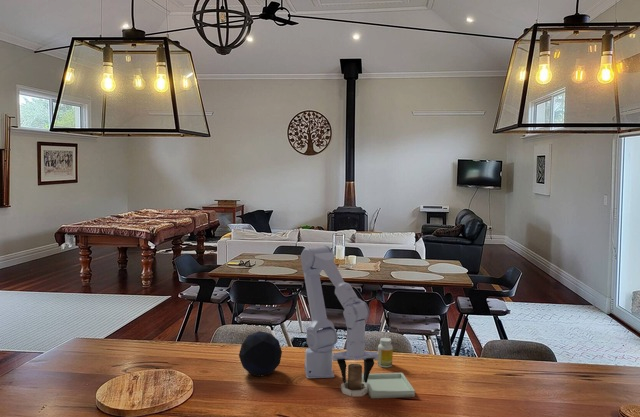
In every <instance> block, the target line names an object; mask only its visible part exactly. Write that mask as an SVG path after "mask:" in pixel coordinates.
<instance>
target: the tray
mask: <svg viewBox="0 0 640 417" xmlns="http://www.w3.org/2000/svg"><path fill="white" fill-rule="evenodd" d="M362 382H364V373H362ZM364 383H365V382H364ZM366 385H367V387H368V393H367V394H368V395H369V398H370V399H391V398H392V399H393V398H411V397H412V398H415V396H416V390H415V389H414V387H413V385H412V384H411V383H410V382H409V379H407V377H406V376H405V374H404V372H387V373H386V372H385V373H384V372H383V373H381V372H379V373H369V376H368V380H367V383H366Z"/></svg>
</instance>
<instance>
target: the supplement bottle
mask: <svg viewBox="0 0 640 417" xmlns="http://www.w3.org/2000/svg"><path fill="white" fill-rule="evenodd" d="M393 350H394V347H393V345H392V339H391V338H390V337H380V340H379V344H378V346H377V353H378V360H377V365H378V366H379V367H380V368H390V367H392V366H393V357H394V356H393V355H394V354H393V353H394V352H393Z"/></svg>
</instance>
